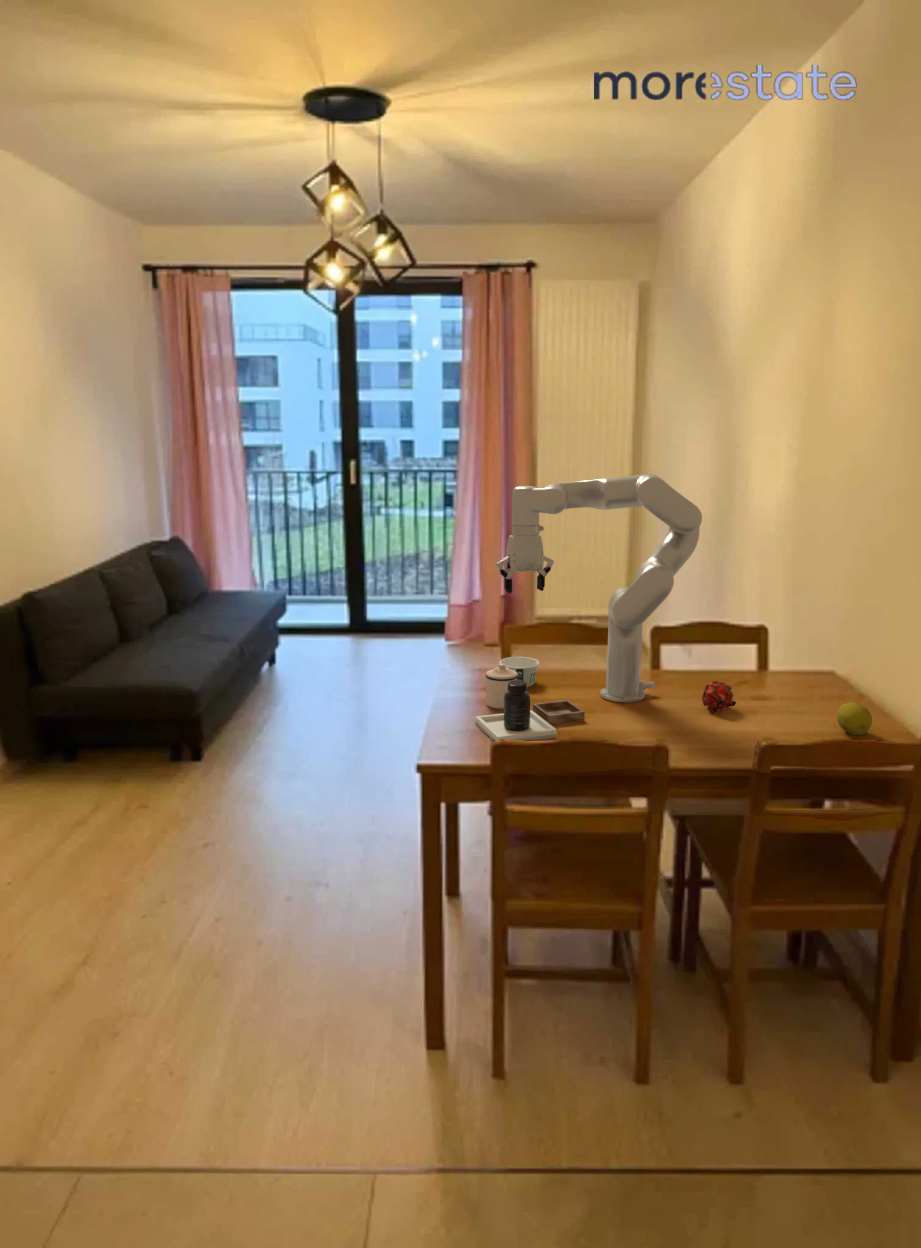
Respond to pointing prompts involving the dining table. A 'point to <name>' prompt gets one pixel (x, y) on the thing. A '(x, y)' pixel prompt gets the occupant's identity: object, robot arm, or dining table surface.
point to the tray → (496, 730)
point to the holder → (559, 712)
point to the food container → (522, 668)
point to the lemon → (854, 718)
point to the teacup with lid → (498, 685)
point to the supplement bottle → (517, 706)
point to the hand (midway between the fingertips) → (524, 591)
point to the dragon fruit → (717, 696)
